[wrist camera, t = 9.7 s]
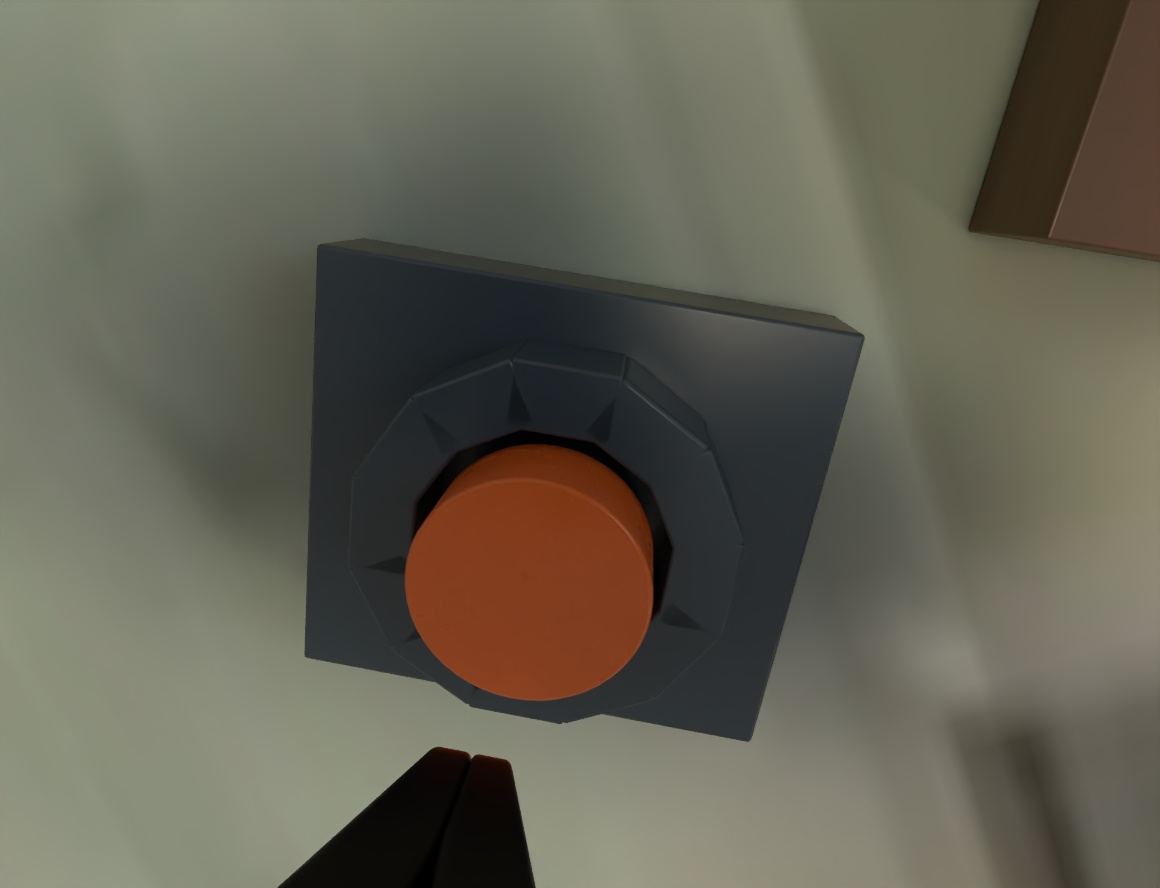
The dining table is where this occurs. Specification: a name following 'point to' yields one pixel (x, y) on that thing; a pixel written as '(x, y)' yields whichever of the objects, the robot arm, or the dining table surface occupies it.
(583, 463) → the button
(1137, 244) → the dial panel
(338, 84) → the dining table surface
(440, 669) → the button housing
